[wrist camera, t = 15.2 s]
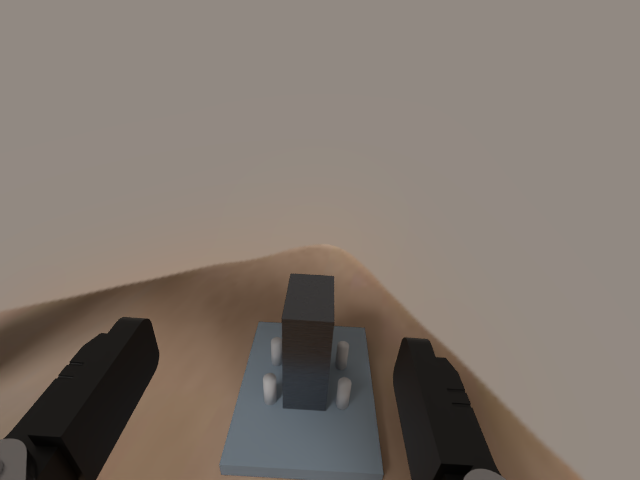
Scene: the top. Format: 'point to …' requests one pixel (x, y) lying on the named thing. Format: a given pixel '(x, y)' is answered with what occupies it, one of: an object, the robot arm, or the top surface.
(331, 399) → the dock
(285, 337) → the block
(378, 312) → the top surface
